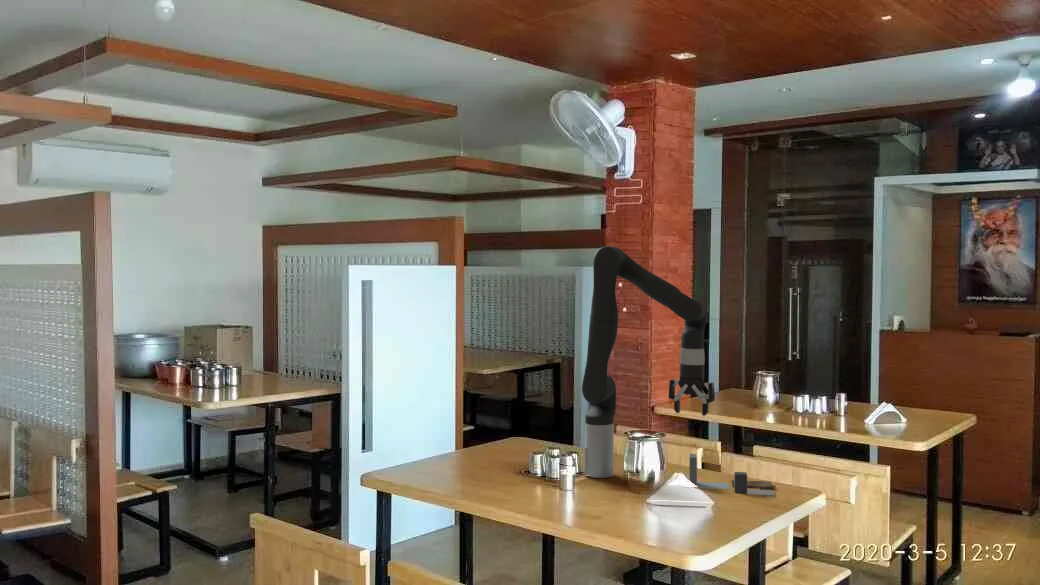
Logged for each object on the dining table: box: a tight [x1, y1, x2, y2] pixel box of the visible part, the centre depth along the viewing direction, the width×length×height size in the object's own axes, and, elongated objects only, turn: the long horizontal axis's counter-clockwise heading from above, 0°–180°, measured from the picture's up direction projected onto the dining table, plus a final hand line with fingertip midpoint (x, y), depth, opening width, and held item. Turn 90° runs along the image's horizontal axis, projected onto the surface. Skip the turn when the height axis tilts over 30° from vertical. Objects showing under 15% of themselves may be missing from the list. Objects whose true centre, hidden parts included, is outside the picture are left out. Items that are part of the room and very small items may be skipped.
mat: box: [697, 481, 731, 490], centre depth 276 cm, size 14×8×1 cm, turn 80°
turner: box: [733, 471, 775, 498], centre depth 267 cm, size 6×11×6 cm, turn 80°
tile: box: [688, 453, 698, 485], centre depth 277 cm, size 2×6×9 cm, turn 170°
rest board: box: [731, 479, 774, 491], centre depth 276 cm, size 12×7×1 cm, turn 80°
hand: (691, 414), depth 281 cm, fingers open, 8 cm apart
